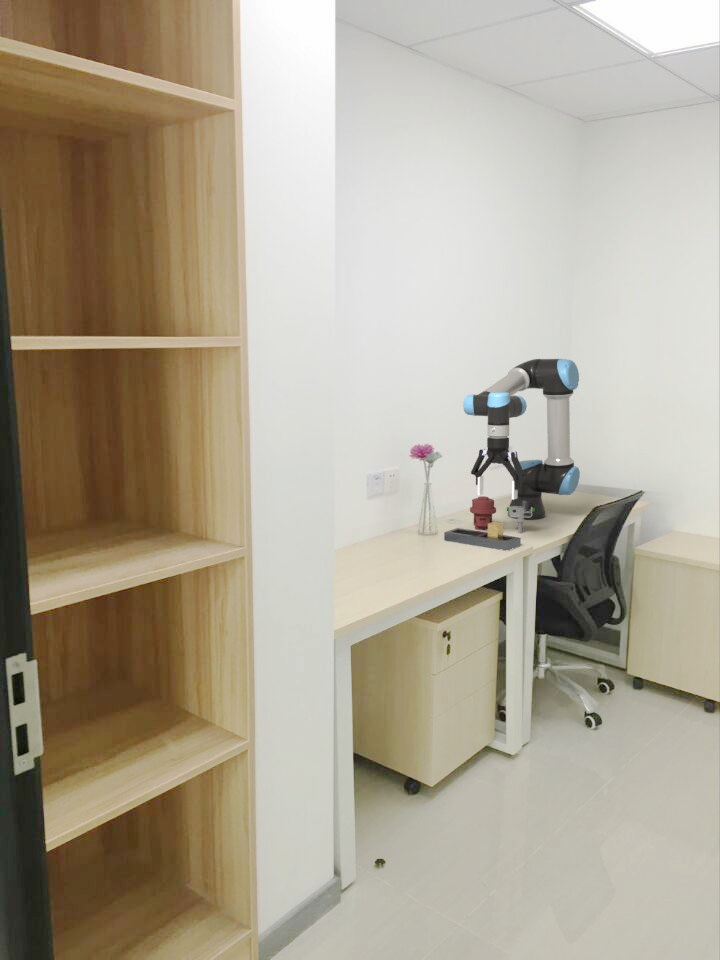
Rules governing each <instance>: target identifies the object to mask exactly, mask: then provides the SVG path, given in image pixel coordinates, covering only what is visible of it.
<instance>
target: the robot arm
mask: <svg viewBox="0 0 720 960" xmlns="http://www.w3.org/2000/svg"><path fill="white" fill-rule="evenodd" d="M579 381H580V373H579V369H578V367H577V364H576V363H575V362H574V361H573V360H571V359H566V358H534V359H530V360H527V361H524V362H522V363H520V364H518V365H516V366H514V367H512V368H511V369H509V371H508V372H507V374H506V375H505V376H504V377H502V378H501V379H499V380H498V381H496V382H495V383H493V384H491V386H489V387H488V388H486V389H485V390H483V391H482V392H480V393H478V394H468V395H466V396H465V398H464V400H463V402H462V403H463V405H462V407H463V411H464V413H465V414H466V415H467V416H468V415H469V416H473V417H477V416H478V417H487V431H486V432H487V433H486V435H487V440H486V446H487V449H486V448H482V449H479V451H478V456H477V459H476V461H475V463H474V464H473V467H472V469H471V471H470V474H471V475H473V476H475V486H477V496H483V495H484V482H485V481H484V479H485V478H484V472H485V471H486V470H487V469H488V468H489V467H490V466H491V464H499V465H503V466H504V468H505V469H506V470H507V472H508V473H509V474H510V476H511V477H512V481H511V501H510V504H509V506H523V507H525V509H526V511H529V510H530V509H531V507H533V508H535V512H533V511H532V517H530V518H524V520H539V519H543V518H545V517H546V509H545V505H544V502H543V499H542V495H543V493H544V494H551V495H559V496H570V495H572V494H573V493H574V492H575V491H576V489H577V487H578V485H579V481H580V477H581V474H580V473H581V472H580V469H579V467H578V466H575V461H574V460H573V459H572V457H571V445H570V444H571V441H570V440H571V438H570V437H571V436H570V433H571V432H570V429H571V427H570V426H571V425H570V423H571V421H570V415H571V414H570V398H571V397H572V395H573V394H574V390H576V389H577V388H578V387H579ZM527 389H538V390H542V395H543V397H545V399H546V421H547V422H546V424H547V458H546V459H545V460H544V462H543V460H542V459H529V460H521V461H520V460H519V457H518V452H517V451H515V450H514V451H511V452H510V451H509V450H510V449H509V448H510V438H509V436H510V418H517V417H521V416H522V415H524V414H525V412H526V411H527V402H526V399H525V398H524V397H522V396H520V395H515V394H516V393H518V392H523V391H526V390H527ZM485 456H487V459H486V460H485ZM509 458H510V459H511V460H510V459H509ZM484 460H485V462H484ZM483 462H484V463H483ZM511 462H512V463H511ZM482 463H483V464H482ZM512 512H514V513H515V512H516V510H515V509H514V510H513V511H512ZM525 515H531V513H525ZM507 516H508V517H510V518H513V519H517V517H511V516H510V515H509V511H507Z"/></svg>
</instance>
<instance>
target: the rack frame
mask: <svg viewBox="0 0 720 960" xmlns="http://www.w3.org/2000/svg"><path fill="white" fill-rule="evenodd" d="M443 537H444V541H445V542H453V543H458V544H465V545H469V546H477V547H481V548H482V547H483V548H488V549H494V548H495V550H500V549H502V550H501V551H506V550H509V551H511V550H510V549H512V548H514V549H516V548H515V547H517V546H519V547H521V537H519V536H511V535H505V534H503V540H498V539H492V538H488V531H487V532H486V531H479V530H473V529H468V528H467V529H466V528H460V527H457V528H454V529H449V530H448V531H445V532H444V535H443ZM517 548H518V547H517ZM512 550H513V549H512Z"/></svg>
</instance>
